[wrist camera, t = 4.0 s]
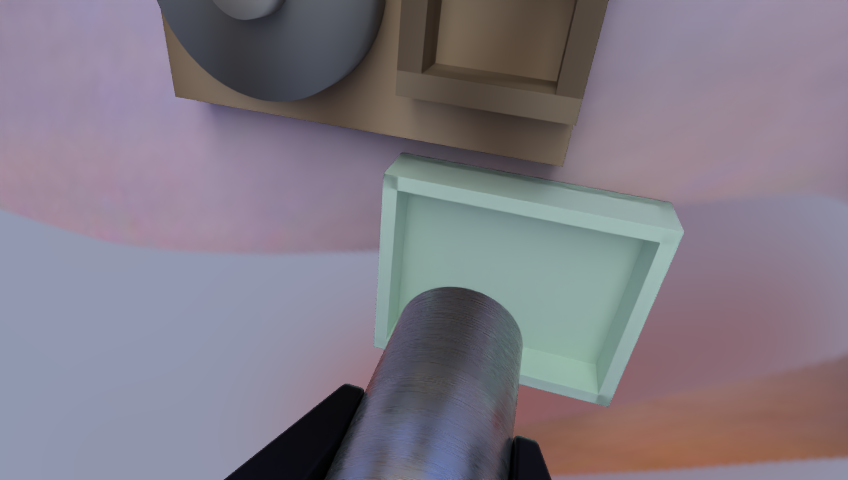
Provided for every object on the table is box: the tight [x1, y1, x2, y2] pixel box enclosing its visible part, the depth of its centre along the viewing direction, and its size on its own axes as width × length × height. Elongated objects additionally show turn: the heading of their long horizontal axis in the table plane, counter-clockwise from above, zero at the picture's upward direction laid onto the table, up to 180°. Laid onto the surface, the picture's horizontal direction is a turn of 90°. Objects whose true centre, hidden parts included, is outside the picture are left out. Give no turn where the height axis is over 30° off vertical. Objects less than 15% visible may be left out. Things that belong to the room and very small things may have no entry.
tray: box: [374, 153, 684, 407], centre depth 21 cm, size 11×9×2 cm
